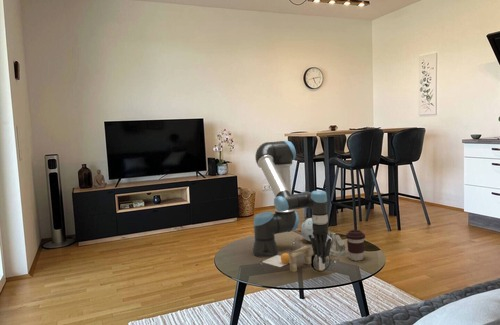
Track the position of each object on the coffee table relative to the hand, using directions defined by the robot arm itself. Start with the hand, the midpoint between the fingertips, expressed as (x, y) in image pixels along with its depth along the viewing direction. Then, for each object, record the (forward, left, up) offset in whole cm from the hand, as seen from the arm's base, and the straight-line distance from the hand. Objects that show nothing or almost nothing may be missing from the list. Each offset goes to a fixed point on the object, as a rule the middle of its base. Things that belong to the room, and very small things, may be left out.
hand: (322, 269), depth 183 cm
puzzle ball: (-32, +39, -2) cm, 50 cm away
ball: (-23, 0, +1) cm, 23 cm away
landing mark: (-28, 0, -2) cm, 28 cm away
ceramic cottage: (-11, +31, -2) cm, 33 cm away
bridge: (-13, 0, -2) cm, 13 cm away
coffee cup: (+4, +27, -2) cm, 27 cm away
